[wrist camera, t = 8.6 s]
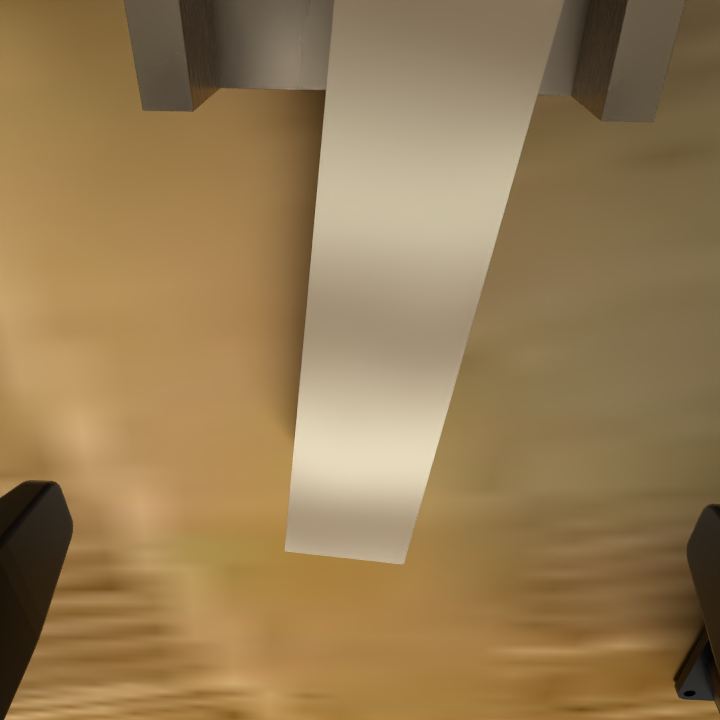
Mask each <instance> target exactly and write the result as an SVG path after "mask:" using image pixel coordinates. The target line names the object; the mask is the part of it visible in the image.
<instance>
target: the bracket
mask: <svg viewBox="0 0 720 720" xmlns="http://www.w3.org/2000/svg"><path fill="white" fill-rule="evenodd" d="M685 1H686V0H564V3H563V7H562V10H561V14H560V17H559V21H558V24H557V28H556V31H555V35H554V38H553V42H552V45H551V49H550V52H549V56H548V60H547V63H546V67H545V70H544V74H543V77H542V81H541V84H540V88H539V91H538V95H565V96H572V97H573V98H575V99H576V100H577V101H578V102H579V103H581V104H582V105H583V106H584V107H585V108H587V109H588V110H589V111H590V112H591V113H592V114H594V115H595V116H596V117H597V118H598V119H600V120H601V121H624V122H653V121H654V118H655V114H656V110H657V106H658V103H659V99H660V95H661V91H662V88H663V84H664V80H665V76H666V73H667V69H668V65H669V61H670V57H671V54H672V50H673V46H674V42H675V39H676V35H677V31H678V27H679V24H680V20H681V16H682V12H683V9H684V5H685ZM124 4H125V10H126V15H127V21H128V27H129V33H130V39H131V44H132V50H133V56H134V62H135V68H136V73H137V79H138V85H139V91H140V97H141V102H142V108H143V110H149V111H192V112H193V111H194V110H195V109H197V108H198V107H199V106H200V105H201V104H202V103H203V102H205V101H206V100H207V99H208V98H209V97H210V96H211V95H213V94H214V93H215V92H216V91H217V90H218V89H220V88H250V89H295V90H326V87H327V76H328V64H329V53H330V42H331V31H332V20H333V9H334V0H124Z"/></svg>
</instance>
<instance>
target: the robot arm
mask: <svg viewBox="0 0 720 720" xmlns="http://www.w3.org/2000/svg"><path fill="white" fill-rule="evenodd" d="M72 533H73V521H72V517H71V515H70V512H69V509H68V506H67V504H66V501H65V498H64V495H63V493H62V490H61V488H60V486H59V485H58V484H57V483H56V482H54V481H41V480H29V481H25V482H23V483H21V484H20V485H18V486H17V487H15V488H14V489H12V490H11V491H9V492H8V493H7V494H5V495H4V496H2V497H1V498H0V720H4V719H5V717H6V714H7V712H8V710H9V707H10V705H11V703H12V701H13V698H14V696H15V694H16V691H17V689H18V687H19V685H20V682H21V680H22V678H23V675H24V673H25V671H26V669H27V666H28V664H29V662H30V659H31V657H32V655H33V652H34V650H35V647H36V645H37V642H38V640H39V637H40V634H41V631H42V629H43V626H44V623H45V620H46V617H47V613H48V610H49V607H50V604H51V601H52V598H53V594H54V591H55V588H56V585H57V582H58V579H59V576H60V572H61V569H62V566H63V563H64V560H65V557H66V553H67V550H68V547H69V544H70V541H71V537H72ZM687 559H688V564H689V567H690V571H691V575H692V578H693V582H694V586H695V589H696V593H697V597H698V600H699V604H700V608H701V611H702V615H703V619H704V622H705V626H706V629H705V631H704V632H703V634H702V636H701V638H700V640H699V642H698V643H697V645H696V647H695V649H694V651H693V652H692V654H691V656H690V658H689V660H688V661H687V663H686V665H685V667H684V669H683V670H682V672H681V674H680V676H679V678H678V679H677V681H676V683H675V686H674V687H675V689H676V692H677V694H678V696H679V698H682V699H687V700H709V701H715V704H716V706H717V708H718V711H719V713H720V504H710V505H708V506H706V507H705V508H704V509H703V511H702V513H701V515H700V517H699V519H698V521H697V524H696V526H695V528H694V530H693V532H692V534H691V536H690V539H689V541H688V544H687Z"/></svg>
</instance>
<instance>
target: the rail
mask: <svg viewBox="0 0 720 720" xmlns="http://www.w3.org/2000/svg"><path fill="white" fill-rule="evenodd" d="M563 3H564V0H334V9H333V20H332V31H331V42H330V53H329V64H328V76H327V87H326V98H325V109H324V120H323V131H322V142H321V153H320V164H319V175H318V187H317V198H316V209H315V220H314V231H313V242H312V253H311V264H310V275H309V286H308V298H307V309H306V320H305V331H304V342H303V353H302V364H301V375H300V386H299V397H298V409H297V420H296V431H295V442H294V453H293V464H292V475H291V486H290V497H289V508H288V520H287V531H286V542H285V551H287V552H296V553H305V554H314V555H323V556H332V557H341V558H350V559H359V560H368V561H377V562H386V563H395V564H404V561H405V558H406V554H407V551H408V547H409V544H410V540H411V537H412V533H413V530H414V526H415V523H416V519H417V516H418V512H419V509H420V505H421V502H422V498H423V495H424V491H425V488H426V484H427V481H428V477H429V474H430V470H431V467H432V463H433V460H434V456H435V453H436V449H437V446H438V442H439V439H440V435H441V431H442V428H443V424H444V421H445V417H446V414H447V410H448V407H449V403H450V400H451V396H452V393H453V389H454V386H455V382H456V379H457V375H458V372H459V368H460V365H461V361H462V358H463V354H464V351H465V347H466V344H467V340H468V337H469V333H470V330H471V326H472V323H473V319H474V316H475V312H476V309H477V305H478V302H479V298H480V295H481V291H482V288H483V284H484V281H485V277H486V274H487V270H488V267H489V263H490V260H491V256H492V253H493V249H494V245H495V242H496V238H497V235H498V231H499V228H500V224H501V221H502V217H503V214H504V210H505V207H506V203H507V200H508V196H509V193H510V189H511V186H512V182H513V179H514V175H515V172H516V168H517V165H518V161H519V158H520V154H521V151H522V147H523V144H524V140H525V137H526V133H527V130H528V126H529V123H530V119H531V116H532V112H533V109H534V105H535V102H536V98H537V95H538V91H539V88H540V84H541V81H542V77H543V74H544V70H545V67H546V63H547V60H548V56H549V52H550V49H551V45H552V42H553V38H554V35H555V31H556V28H557V24H558V21H559V17H560V14H561V10H562V7H563Z"/></svg>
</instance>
